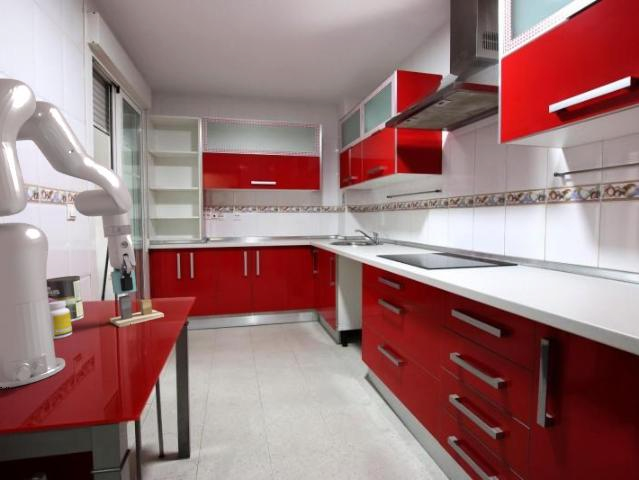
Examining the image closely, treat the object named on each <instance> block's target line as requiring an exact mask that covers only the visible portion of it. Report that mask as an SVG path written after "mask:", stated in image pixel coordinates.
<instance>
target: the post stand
mask: <svg viewBox="0 0 639 480" xmlns="http://www.w3.org/2000/svg"><path fill="white" fill-rule="evenodd" d="M131 299H132V298H131V295H129V294H128V295H127V294H126V295H122V296H118V305H119V314H120V316H115V317H112V318H111V317H110V318H109V322H110V323H111V324H114V325H115V326H117V327H119V328H122V327H127V326H130V324H131V325H134V324H139V323H143V322H147V321H150V320H155V319H159V318H164V317H165V315H164V313H163V312H161V311H158V310H156V309H153V305H152V300H151V299H149V298H147V299H143V300H142V299H141V300H139V306H140V307H139V308H140V311H138V312H134V313H133V310H132V301H131Z"/></svg>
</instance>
